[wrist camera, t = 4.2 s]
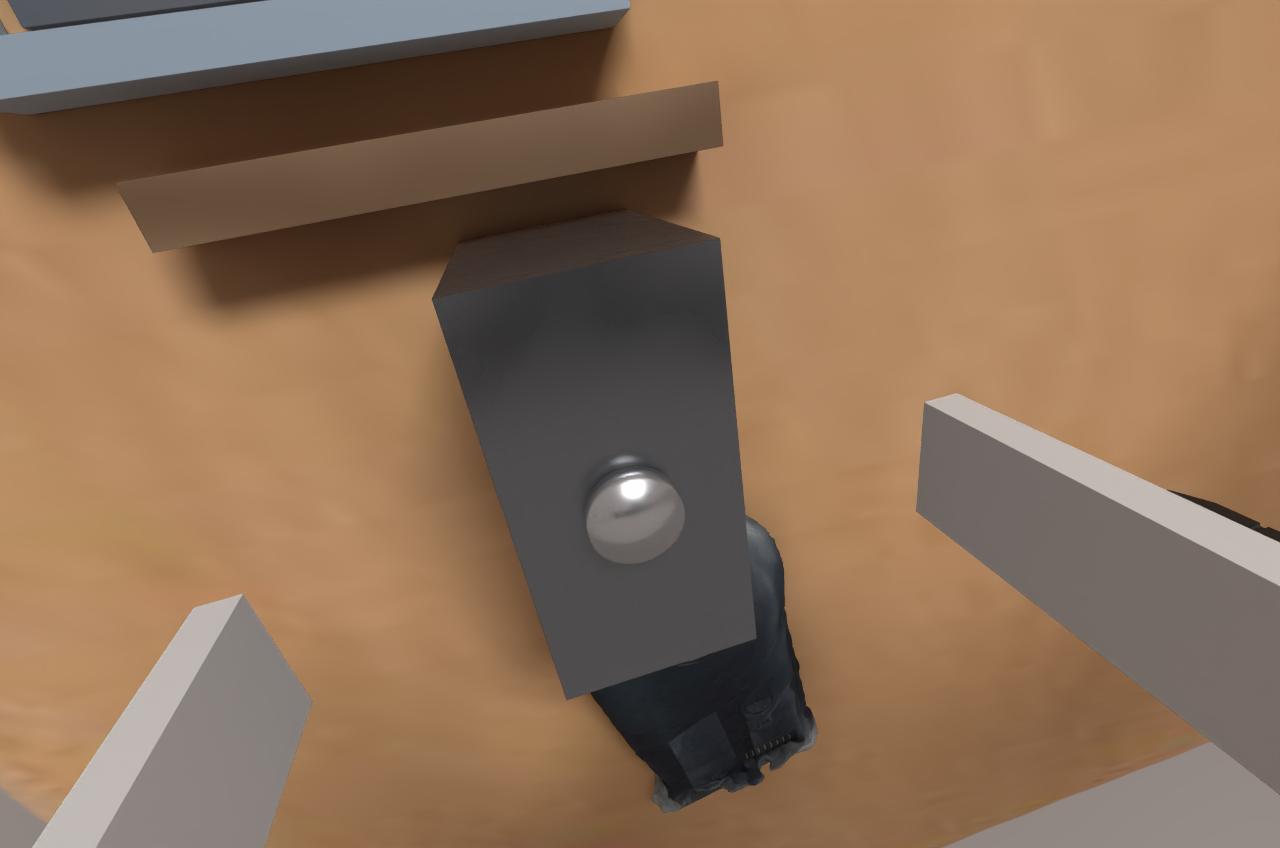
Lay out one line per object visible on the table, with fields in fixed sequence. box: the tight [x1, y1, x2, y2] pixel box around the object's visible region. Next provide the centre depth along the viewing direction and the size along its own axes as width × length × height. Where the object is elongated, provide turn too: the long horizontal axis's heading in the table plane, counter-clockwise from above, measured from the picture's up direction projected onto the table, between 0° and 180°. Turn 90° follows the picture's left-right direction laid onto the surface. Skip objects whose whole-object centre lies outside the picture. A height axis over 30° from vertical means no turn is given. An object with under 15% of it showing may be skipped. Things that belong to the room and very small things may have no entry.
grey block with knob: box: [432, 209, 757, 700], centre depth 15 cm, size 10×5×9 cm, turn 10°
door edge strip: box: [115, 81, 723, 253], centre depth 14 cm, size 2×14×2 cm, turn 99°
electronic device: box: [591, 515, 818, 813], centre depth 23 cm, size 9×6×15 cm
